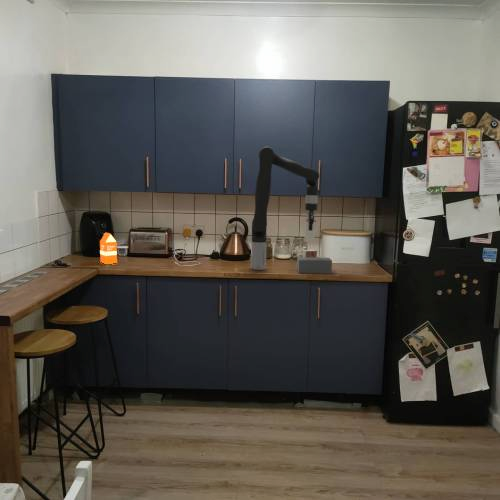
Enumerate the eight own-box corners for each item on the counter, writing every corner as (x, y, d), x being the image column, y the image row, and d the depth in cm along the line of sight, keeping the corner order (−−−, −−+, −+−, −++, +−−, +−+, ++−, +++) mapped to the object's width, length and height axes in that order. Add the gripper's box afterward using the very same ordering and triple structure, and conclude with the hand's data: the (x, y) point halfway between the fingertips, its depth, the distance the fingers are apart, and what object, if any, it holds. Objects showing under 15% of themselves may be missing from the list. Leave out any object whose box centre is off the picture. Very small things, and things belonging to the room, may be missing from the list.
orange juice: (105, 265, 293) (104, 234, 290) (100, 263, 299) (99, 232, 296) (117, 263, 298) (116, 233, 294) (111, 261, 304) (111, 231, 301)
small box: (305, 266, 299) (305, 250, 297) (301, 265, 304) (302, 249, 303) (316, 266, 301) (317, 250, 300) (313, 264, 306) (313, 249, 305)
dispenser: (298, 273, 279) (299, 259, 277) (296, 269, 289) (297, 256, 287) (331, 273, 279) (332, 259, 278) (328, 270, 289) (328, 256, 288)
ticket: (304, 241, 288) (306, 219, 286) (304, 241, 290) (306, 219, 288) (314, 242, 288) (316, 220, 286) (313, 241, 290) (315, 220, 288)
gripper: (304, 201, 292) (303, 229, 295) (306, 203, 279) (305, 231, 281) (315, 202, 292) (314, 229, 295) (319, 203, 279) (317, 231, 281)
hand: (310, 230), depth 288 cm, fingers closed on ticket, 1 cm apart
